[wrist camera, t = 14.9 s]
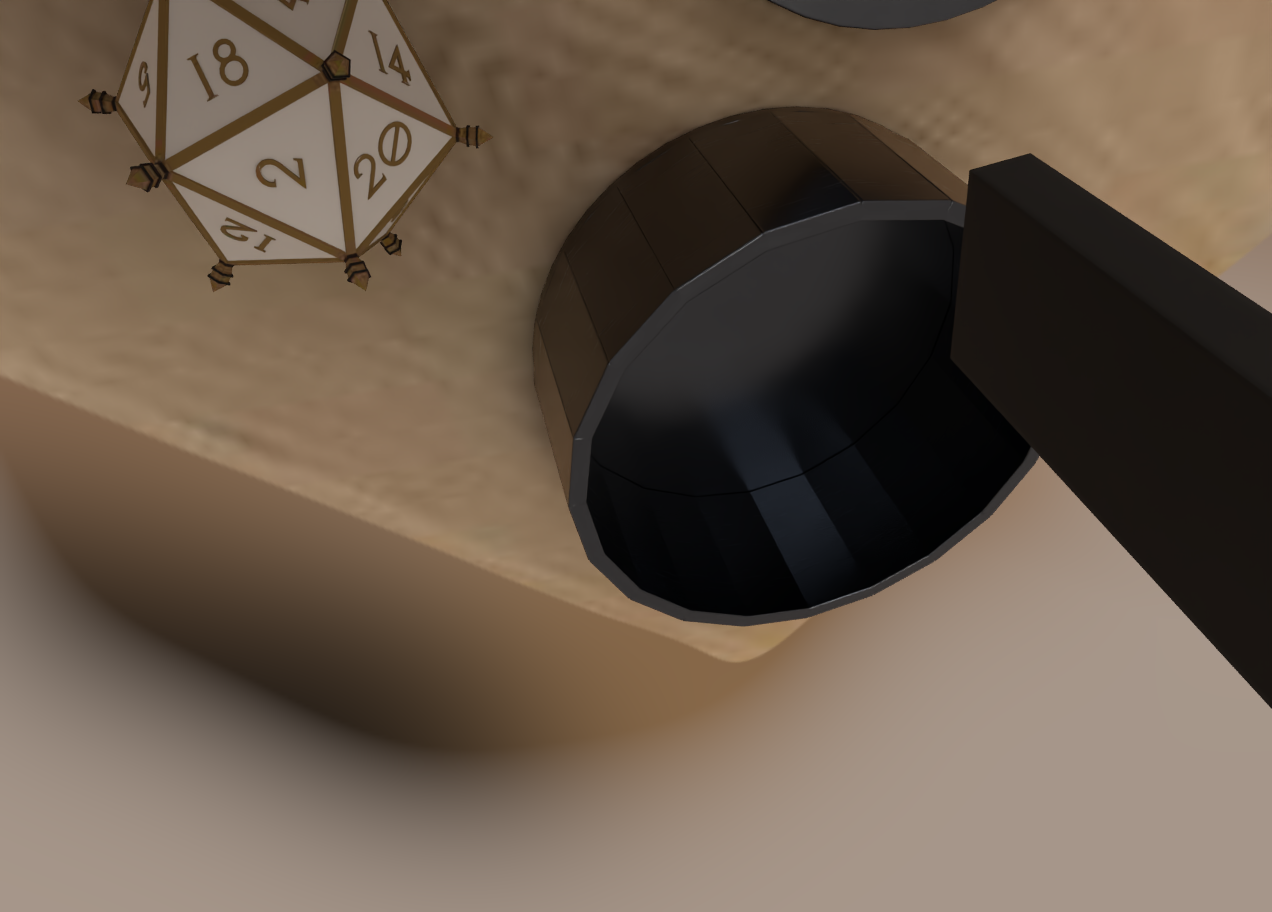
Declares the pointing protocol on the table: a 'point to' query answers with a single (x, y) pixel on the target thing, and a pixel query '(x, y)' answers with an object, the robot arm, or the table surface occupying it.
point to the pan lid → (880, 11)
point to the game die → (283, 126)
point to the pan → (768, 371)
